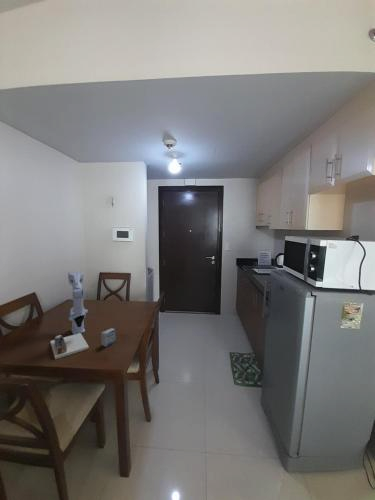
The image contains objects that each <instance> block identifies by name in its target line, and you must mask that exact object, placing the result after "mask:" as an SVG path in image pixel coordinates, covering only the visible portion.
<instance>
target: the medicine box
mask: <svg viewBox="0 0 375 500" xmlns="http://www.w3.org/2000/svg"><path fill="white" fill-rule="evenodd" d="M100 335H101V337H100V338H101V339H100V340H101V346H104V347H109V346H111V345H112V344H114V343H116V341H117V340H116V329H115V328H112V327H110V328H108V329H106V330H103V331H102V332H100Z"/></svg>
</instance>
